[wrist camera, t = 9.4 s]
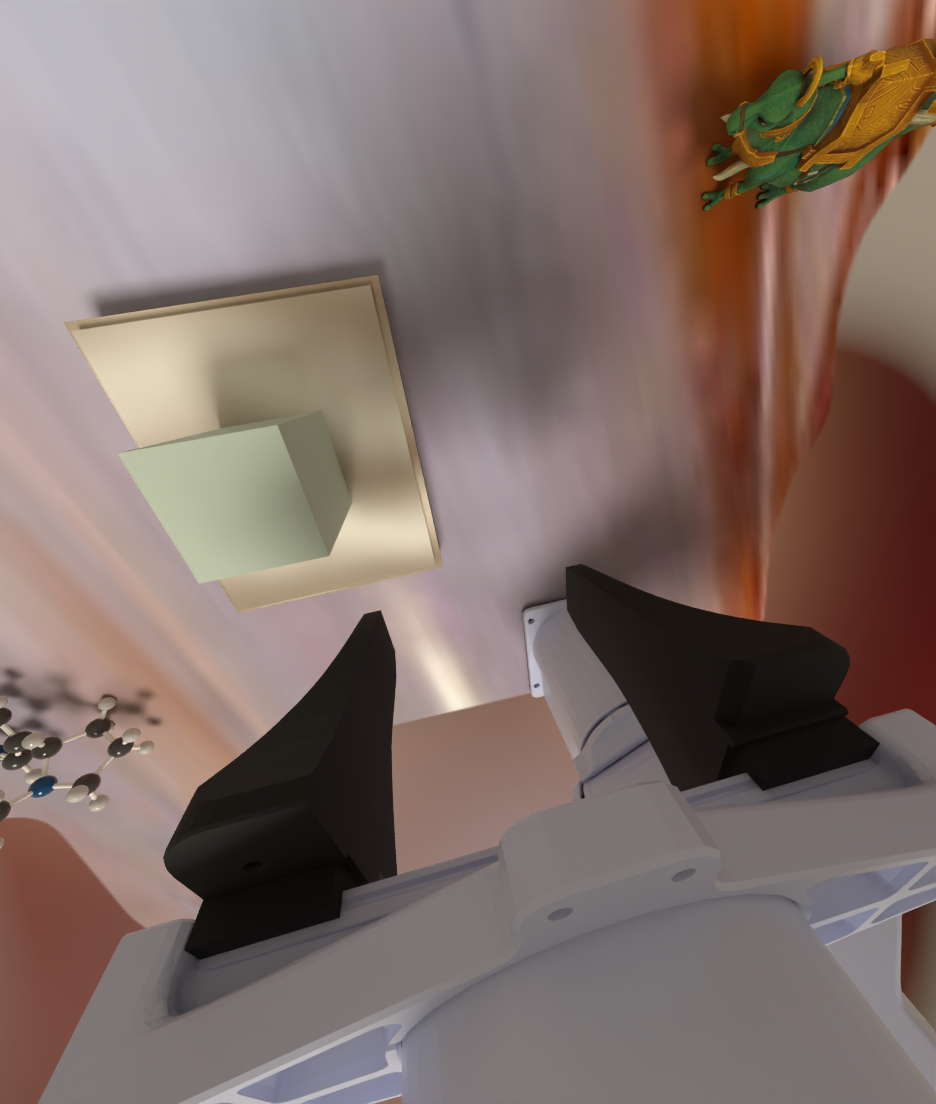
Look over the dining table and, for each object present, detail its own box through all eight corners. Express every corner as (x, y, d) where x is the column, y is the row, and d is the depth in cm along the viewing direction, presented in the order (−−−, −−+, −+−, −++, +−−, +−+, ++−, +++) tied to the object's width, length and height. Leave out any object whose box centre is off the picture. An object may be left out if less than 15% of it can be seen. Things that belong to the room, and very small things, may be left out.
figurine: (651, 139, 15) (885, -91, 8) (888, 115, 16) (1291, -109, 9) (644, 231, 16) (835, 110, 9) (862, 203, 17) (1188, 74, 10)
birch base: (440, 552, 22) (444, 571, 20) (252, 593, 21) (234, 618, 19) (381, 287, 15) (377, 270, 13) (105, 329, 15) (51, 320, 12)
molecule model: (-22, 639, 22) (-244, 778, 16) (140, 697, 21) (-33, 867, 15) (45, 683, 26) (-111, 806, 20) (182, 733, 25) (61, 877, 19)
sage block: (352, 502, 17) (329, 555, 12) (263, 520, 17) (199, 583, 11) (321, 410, 15) (277, 425, 10) (220, 428, 15) (117, 453, 9)
